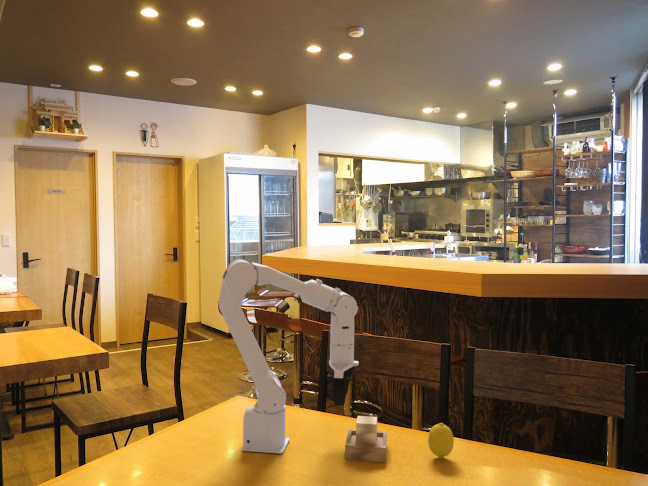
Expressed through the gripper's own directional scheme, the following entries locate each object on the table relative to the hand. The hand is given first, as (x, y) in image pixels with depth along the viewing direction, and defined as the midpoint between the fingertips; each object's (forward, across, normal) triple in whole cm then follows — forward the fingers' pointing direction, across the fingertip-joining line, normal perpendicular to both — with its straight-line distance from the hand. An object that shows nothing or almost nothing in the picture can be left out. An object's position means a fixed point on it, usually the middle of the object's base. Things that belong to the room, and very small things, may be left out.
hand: (341, 399), depth 125 cm
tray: (+10, -6, -6) cm, 13 cm away
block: (+8, -6, -6) cm, 11 cm away
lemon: (+10, -6, -23) cm, 26 cm away
